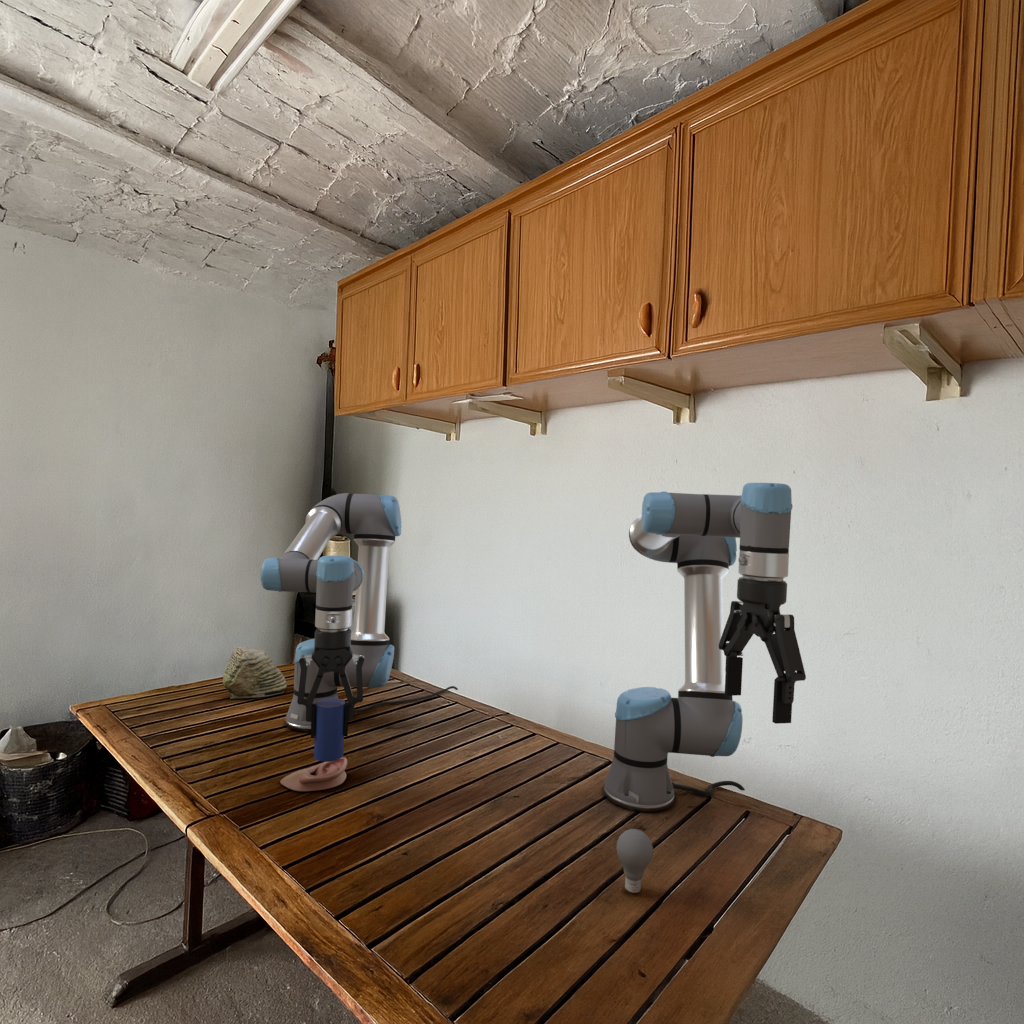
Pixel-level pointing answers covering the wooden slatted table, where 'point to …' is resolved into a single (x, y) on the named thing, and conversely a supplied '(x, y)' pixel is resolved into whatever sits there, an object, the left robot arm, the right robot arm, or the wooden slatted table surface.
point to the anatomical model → (317, 776)
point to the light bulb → (634, 857)
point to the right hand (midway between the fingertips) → (755, 708)
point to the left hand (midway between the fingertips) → (329, 734)
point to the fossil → (252, 674)
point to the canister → (329, 729)
